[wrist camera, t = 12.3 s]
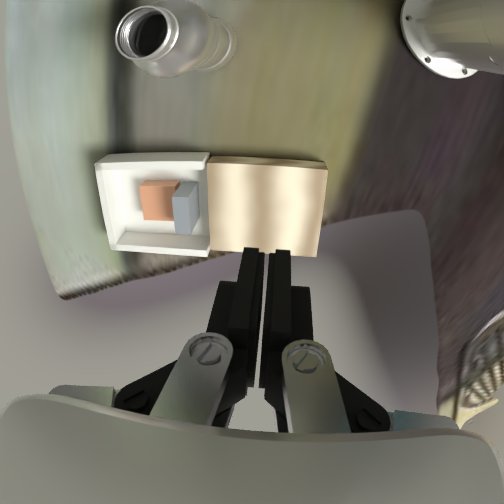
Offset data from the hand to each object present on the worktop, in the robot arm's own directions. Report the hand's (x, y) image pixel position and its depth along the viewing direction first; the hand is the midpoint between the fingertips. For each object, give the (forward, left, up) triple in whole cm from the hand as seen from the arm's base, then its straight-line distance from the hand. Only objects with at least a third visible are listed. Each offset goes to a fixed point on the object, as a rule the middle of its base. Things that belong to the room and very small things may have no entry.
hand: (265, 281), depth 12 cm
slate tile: (+10, +10, -26) cm, 30 cm away
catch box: (+15, +10, -29) cm, 34 cm away
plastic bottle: (+8, -10, -29) cm, 32 cm away
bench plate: (+1, +10, -29) cm, 31 cm away
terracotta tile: (+15, +10, -27) cm, 32 cm away
